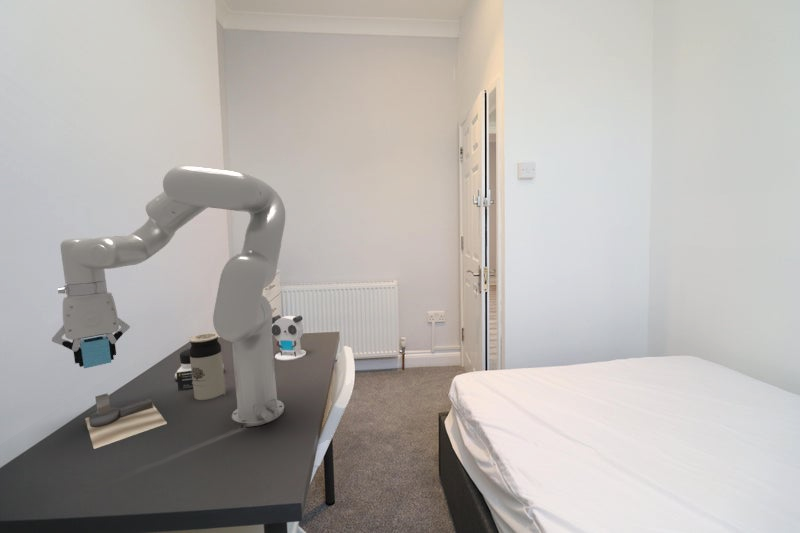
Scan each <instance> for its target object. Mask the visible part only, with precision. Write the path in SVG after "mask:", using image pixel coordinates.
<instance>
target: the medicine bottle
mask: <svg viewBox="0 0 800 533" xmlns="http://www.w3.org/2000/svg"><path fill="white" fill-rule="evenodd" d="M189 350H190V348H188V349H185V350H183V351H181V352H180V354H179V360H180V367H179V368H178V369H177V371H176V372H175V374H176V373H177V379H176V381H177V390H178V391H180V392H181V391H187V390H194V389H193V380H192V371H191V362H190V353H189Z"/></svg>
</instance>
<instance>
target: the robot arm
mask: <svg viewBox="0 0 800 533" xmlns="http://www.w3.org/2000/svg"><path fill="white" fill-rule="evenodd" d="M162 188H163V191H162V192H161V193H159V195H157V196H155V197H154V198H152V199H151V200H150V201H149V202H147V204H146V205H145V211H146V214H147V216H148V219H147V220H146V222H145V223H144V224H143V225H142V226H140V227H139V228H138V229H136V230H135V231H134V232H132V233H131V234H128V235H116V236H115V235H114V236H102V237H95V238H93V237H92V238H87V237H86V238H69V239H64V240H63V241H62V242H60V254H61V262H62V269H63V276H64V282H65V285H64V286H62V287H57V292H58V294H64V295H66V296H65V297H63V300H62V323H63V325H62V326H61V327H60V328H59V329H58V331H57V332H56V333H55V334H54V335H53V337H51V342H53V343H55V344H58V345H60V346H62V347H64V348H67V349H69V350H71V351H72V352H73V358H74V364H78V365H79V367H80V368H82V367H83V359H82V352H81V349H80V341H81V339H87V338H92V337H97V336H103V335H106V336H107V338H108V339H109V347H110V355H111V361H113V360H115V359H114V358H115V357H114V356H116V355H117V349H116V348H117V346H116V343H117V341H118V340H119V339H120V338H121V337H122V336H123V335H124V334H125V333H126V332H127V331H129V329H130V327H131V326H130V325H129V324H128V323H126V322H125V321H124V320H123V319H121V318H119V316H118V311H117V306H116V303H115V299H114V297H113V296H114V295H113V294H112V292H109V291H108V287H107V280H106V272H105V271H106V269H107V270H109V269H110V270H111V269H115V268H116V269H117V268H123V267H128V266H135V265H139V264H141V263H143V262H146V261H147V260H148V259H150V258H152V257H153V256H154V255H156V253H158V252H160V251H161V250H162V249H163V248H164V247H166V246H167V245H168V244H169V243H170V242H171V240H172V239H173V237H174V236H175V234H176V232H177V231H178V230H180V228H182V227H183V226H184V225H186V224H187V223H188V222H190V221H191V220H193V219H194V218H195V217H197V216H198V215H200V214H201V213H202V212H204V211H205V210H206V209H209V208H210V209H221V210H229V211H235V212H244V213H248V214H250V216H249V217H250V219H249V223H248V225H247V228H246V231H245V235H244V241H243V242H244V243H243V245H242V246H243V247H242V249H241V252H240V253H239V254H235V255H234V256H232V257H231V258H230V259H228V261H227V262H226V263H225V264H224V266H223V269H222V271H221V274H220V278H219V283H218V288H217V293H216V299H215V304H214V310H213V314H212V315H213V316H212V321H213V324H212V325H213V327H214V330H215V333H217V334H218V335H219V336H218V337H220V338H221V339H222V340H224V341H226V342H230V343H231V354H232V364H233V374H234V385H235V395H236V404H237V406H236V407H237V408H236V409H235V410H234V411H233V412H232V414H231V419H232V420H233V421H234V422H237V423H241V424H243V425H241V427H243V428H244V427H247V428H248V427H249V428H250V427H255V426H256V427H257V426H261V425H264V424H268V423H270V422H273V421H274V420H276V419H278V418H279V417H280V416H282V414H283V413H284V410H285V404H284V403H283V401H281V400H279V399H278V394H277V384H276V372H275V370H276V369H275V360H274V359H275V357H274V346H273V334H272V326H273V324H272V317H273V310H272V305H271V303H270V301H269V299H267V297H266V296H264V295H263V294H264V293H263V292H264V289H266V288H267V287H269V286H270V285H271V284H273V282H274V280H275V278H276V275H277V270H278V264H279V257H280V253H281V248H282V241H283V236H284V231H285V225H286V209H285V204H284V202H283V199H282V198H281V196H280V195H279V193H278V192H277V191H276V190H275V189H274V188H273V187H271V186H270V184H268V183H266V182H265V181H263V180H262V179H259V178H257V177H254V176H251V175H248V174H246V173H244V172H243V173H242V172H239V171H232V170H226V169H225V170H224V169H217V168H208V167H200V166H193V165H186V164H184V165H178V166H175V167H173V168H171V169H170V170H168V172H167V173H165V175H164V177H163V180H162ZM63 336H65V338H66V339H64V338H63ZM69 340H71V341H69Z"/></svg>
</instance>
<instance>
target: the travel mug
mask: <svg viewBox="0 0 800 533" xmlns="http://www.w3.org/2000/svg"><path fill="white" fill-rule="evenodd" d="M219 337H220V336H219V335H218V334H217V332H208V333H207V332H206V333H201V334H197V335H194V336H191V337H190V338H189V340H188V341H189V342H190V344H191V346H190V348H189V349H190V350H189V353H190V362H191V371H192V380H193V389H192V390H193V396H194V399H195V400H200V401H205V400H206V401H207V400H210V399H211V400H212V399H215V398H218V397H220V396H222V395H226V383H225V382H226V381H225V373H224V370H223V365H224V363H223V354H222V345H221V344H220V342H219V340H218V339H219Z"/></svg>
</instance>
